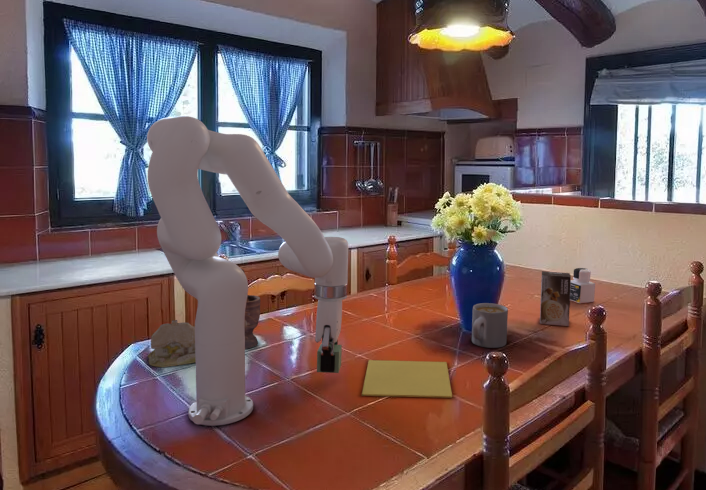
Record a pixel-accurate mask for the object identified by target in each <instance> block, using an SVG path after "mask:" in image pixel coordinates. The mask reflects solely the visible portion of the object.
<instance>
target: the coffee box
mask: <svg viewBox="0 0 706 490" xmlns="http://www.w3.org/2000/svg"><path fill="white" fill-rule="evenodd" d="M571 280H572V277H571V273H570V272H558V271H544V270H541V280H540V281H541V284H540V307H539V308H540V309H539V324H540V325H551V326H563V327H569V326H570V309H571V308H570V307H571V300H570V285H571Z"/></svg>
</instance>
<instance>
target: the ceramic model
mask: <svg viewBox="0 0 706 490" xmlns="http://www.w3.org/2000/svg"><path fill="white" fill-rule="evenodd" d="M178 321H179V320H178V319H175V320H172V321H171V323H163V324H160V326H159V327H158V328H157V329H156V331H154V333H152V335H151V338H150V349H152V351H151V352H149V353H148V354H147V358H148V364H149V365H150V366H152V367H157V368H158V367H159V368H167V367H168V368H169V367H176V366H183V365H189V364H194V363H195V364H196V358H195V325H194V326H193V325H191V323H189V322H187V321H185V322H178Z"/></svg>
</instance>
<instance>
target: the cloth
mask: <svg viewBox="0 0 706 490" xmlns="http://www.w3.org/2000/svg"><path fill="white" fill-rule="evenodd" d="M367 361H368V362H367V367H366V372H365V377H364V381H363V386H362V391H361V396H363V397H365V396H366V397H400V398H401V397H406V398H407V397H408V398H442V399H443V398H446V399H453V393H452V387H451V381H450V375H449V374H450V373H449V369H448V368H449V367H448V362H447V361H422V360H421V361H419V360H418V361H417V360H380V359H377V360H376V359H368V360H367Z"/></svg>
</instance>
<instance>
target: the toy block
mask: <svg viewBox="0 0 706 490" xmlns="http://www.w3.org/2000/svg"><path fill="white" fill-rule="evenodd" d="M329 346H330V347H331V344H329ZM321 348H322V343H321V344H320V345H319V347H318V349H317V351H316V373H323V374H324V373H325V374H327V373H328V374H339V373H340V370H341V367H342V351H343V350H342V349H343V344H338V345H334V355H335V370H334V372H321V371H320V363H321Z"/></svg>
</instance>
